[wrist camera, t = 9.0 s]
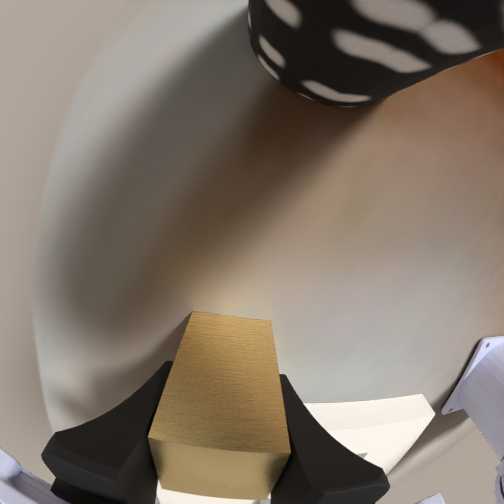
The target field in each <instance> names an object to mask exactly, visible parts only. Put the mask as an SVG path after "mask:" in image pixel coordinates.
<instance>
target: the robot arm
mask: <svg viewBox="0 0 504 504" xmlns="http://www.w3.org/2000/svg"><path fill="white" fill-rule="evenodd" d="M172 365H173V361H166V362H165V363H164V364H163V365H162V366H161V367H160V368H159V370H158V371H157V372H156V373H155V374H154V375H153V376H152V377H151V378H150V379H149V380H148V381H147V382H146V383H145V384H144V385H143V386H142V387H141V388H140V389H138V390H137V391H136V392H135V393H134V394H133V395H131V396H130V397H129V398H128V399H126V400H125V401H124V402H122V403H121V404H119V405H118V406H116V407H115V408H113V409H112V410H110V411H108V412H107V413H105V414H103V415H101V416H100V417H98V418H96V419H93V420H91V421H89V422H86V423H84V424H82V425H79V426H76V427H73V428H70V429H66V430H63V431H59V432H55V434H54V435H53V436H52V437H51V439H50V440H49V442H48V443H47V445H46V447H45V449H44V451H43V452H42V454H41V457H42V460H43V461H44V463H45V464H46V466H47V467H48V468H49V469H50V471H51V472H52V473H53V474H54V475H55V477H56V479H55V481H54V483H53V485H51V484H49V483H47V482H45V481H44V480H42V479H40V478H38V477H37V476H35V475H33V474H32V473H30V472H28V471H27V470H25V469H24V468H22V467H21V465H20V463H19V462H18V461H17V460H16V459H15V458H14V457H12V456H11V455H10V454H8V453H7V452H6V451H4V450H3V449H1V448H0V502H1V503H2V504H155V499H156V492H157V486H158V480H159V479H158V475H157V472H156V468H155V464H154V461H153V457H152V453H151V449H150V444H149V440H148V435H149V432H150V429H151V426H152V423H153V420H154V417H155V414H156V411H157V408H158V405H159V402H160V399H161V396H162V393H163V391H164V388H165V385H166V382H167V379H168V376H169V374H170V371H171V368H172ZM279 377H280V383H281V390H282V396H283V403H284V410H285V416H286V423H287V430H288V436H289V443H290V450H291V454H290V456H289V458H288V460H287V462H286V464H285V466H284V468H283V470H282V472H281V474H280V476H279V478H278V480H277V482H276V484H275V485H274V487H273V489H272V491H271V503H270V504H375V502H376V501H378V500H379V499H380V498H381V497H382V496H384V495H385V494H386V493H387V491H388V490H389V488H390V484H389V482H388V479H387V476H386V474H385V472H384V471H383V469H382V468H381V467H379V466H377V465H375V464H373V463H371V462H369V461H367V460H365V459H363V458H361V457H360V456H358V455H356V454H355V453H353V452H352V451H350V450H349V449H348V448H346V447H345V446H344V445H342V444H341V443H340V442H338V441H337V440H336V439H335V438H334V437H332V436H331V435H330V434H329V433H328V432H327V431H326V430H325V429H324V428H323V427H322V426H321V425H320V424H319V422H318V421H317V420H316V419H315V418H314V417H313V415H312V414H311V413H310V412H309V410H308V409H307V408H306V406H305V405H304V404H303V402H302V401H301V399H300V398H299V396H298V395H297V393H296V392H295V390H294V388H293V387H292V385H291V383H290V382H289V380H288V378H287V376H286V375H285V374H279ZM461 409H464V410H465V412H466V413H467V414H468V416H469V417H470V418H471V420H472V421H473V422H474V424H475V425H476V426H477V428H478V429H479V431H480V432H481V433H482V435H483V436H484V438H485V439H486V440H487V442H488V443H489V445H490V446H491V448H492V449H493V450H494V452H495V453H496V455H497V456H498V458H499V460H500V461H502V462H501V463H500V464H499V465H498V466H497V467H496V470H497V472H498V475H497V477H496V481H495V491H494V493H495V500H496V503H497V504H504V336H498V337H490V338H484V339H482V340H481V341H480V343H479V345H478V347H477V349H476V351H475V353H474V355H473V357H472V359H471V361H470V363H469V365H468V367H467V368H466V370H465V372H464V374H463V376H462V378H461V379H460V381H459V383H458V384H457V386H456V388H455V390H454V391H453V393H452V394H451V396H450V398H449V399H448V401H447V402H446V404H445V405H444V407H443V408H442V410H441V413H442V414H443V415H445V414H448V413H452V412H455V411H458V410H461ZM415 504H445V502H444V500H443V498H442V496H441V494H440V493H437V494H435V495H432V496H430V497H428V498H425V499H423V500H421V501H419V502H417V503H415Z"/></svg>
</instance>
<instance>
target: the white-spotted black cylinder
mask: <svg viewBox="0 0 504 504" xmlns="http://www.w3.org/2000/svg"><path fill="white" fill-rule="evenodd" d="M248 33H249V38H250V42H251V46H252V48H253V50H254V52H255V54H256V56H257V58H258V59H259V61H260V62H261V63H262V65H263V66H264V67H265V69H266V70H267V71H268V72H269V73H270V74H271V75H273V76H274V77H275V78H276V79H277V80H278V81H279V82H280V83H282V84H283V85H285V86H286V87H288V88H289V89H291V90H292V91H294V92H296V93H298V94H300V95H302V96H304V97H306V98H308V99H310V100H313V101H317V102H320V103H323V104H326V105H332V106H338V107H361V106H366V105H371V104H374V103H376V102H378V101H380V100H383V99H385V98H387V97H389V96H391V95H393V94H395V93H397V92H399V91H401V90H403V89H405V88H407V87H409V86H412V85H414V84H416V83H418V82H420V81H422V80H425V79H427V78H429V77H431V76H434V75H436V74H438V73H441V72H443V71H445V70H448V69H450V68H452V67H455V66H457V65H460V64H462V63H465V62H467V61H470V60H473V59H475V58H478V57H481V56H483V55H486V54H489V53H492V52H494V51H497V50H500V49H503V48H504V0H249V11H248Z"/></svg>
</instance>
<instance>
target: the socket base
mask: <svg viewBox="0 0 504 504" xmlns="http://www.w3.org/2000/svg"><path fill="white" fill-rule="evenodd" d="M303 404H304V405H305V406H306V408H307V409H308V410H309V412H310V413H311V414H312V415H313V417H314V418H315V419H316V420H317V421H318V422H319V424H320V425H321V426H322V427H323V428H324V429H325V430H326V431H327V432H328V433H329V434H330V435H331V436H332V437H334V438H335V439H336V440H337V441H338V442H340V443H341V444H342V445H344V446H345V447H346V448H348V449H349V450H350V451H352V452H353V453H355V454H356V455H358V456H360V457H361V458H363V459H365V460H367V461H369V462H371V463H373V464H375V465H377V466H379V467H381V468H382V469H383V471H384V472H385V474H387V473H388V472H389V471H390V470H391V469H392V468H393V467H394V466H395V465H396V464H397V462H398V461H399V460H400V459H401V458H402V457H403V456H404V454H405V453H406V452H407V451H408V450H409V448H410V447H411V446H412V445H413V444H414V442H415V441H416V440H417V439H418V437H419V436H420V435H421V433H422V432H423V431H424V429H425V428H426V427H427V425H428V424H429V422H430V421H431V420H432V418H433V417H434V415H435V413H434V411H433V410H432V408H431V407H430V405H429V404H428V402H427V401H426V399H425V398H424V396H423V395H422V394H416V395H410V396H403V397H396V398H388V399H379V400H369V401H356V402H339V403H303ZM156 493H157V496H158V498H159V501H160V504H258V503H259V501H260V500H242V499H227V498H216V497H207V496H199V495H193V494H186V493H181V492H175V491H170V490H165V489H161V485H160V482H159V480H158V486H157V492H156ZM267 499H271V493H270V495H269V496H268V498H267Z"/></svg>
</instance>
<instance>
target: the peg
mask: <svg viewBox="0 0 504 504" xmlns="http://www.w3.org/2000/svg"><path fill="white" fill-rule="evenodd" d="M148 440H149V444H150V449H151V453H152V457H153V461H154V464H155V468H156V472H157V475H158V479H159V482H160V485H161V489H165V490H170V491H175V492H181V493H186V494H193V495H199V496H207V497H216V498H227V499H242V500H267V498H268V496H269V495H270V493H271V491H272V489H273V487H274V485H275V484H276V482H277V480H278V478H279V476H280V474H281V472H282V470H283V468H284V466H285V464H286V462H287V460H288V458H289V456H290V454H291V450H290V443H289V436H288V430H287V423H286V416H285V410H284V403H283V396H282V390H281V383H280V377H279V370H278V364H277V357H276V351H275V344H274V338H273V331H272V325H271V321H268V320H258V319H249V318H240V317H232V316H224V315H216V314H209V313H201V312H195V311H192V314H191V317H190V319H189V322H188V324H187V327H186V330H185V332H184V335H183V338H182V340H181V343H180V346H179V349H178V351H177V354H176V357H175V360H174V362H173V365H172V368H171V371H170V374H169V376H168V379H167V382H166V385H165V388H164V391H163V393H162V396H161V399H160V402H159V405H158V408H157V411H156V414H155V417H154V420H153V423H152V426H151V429H150V432H149V435H148Z"/></svg>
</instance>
